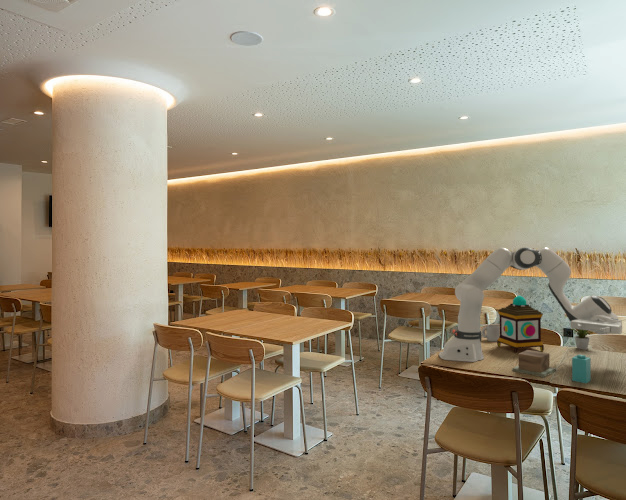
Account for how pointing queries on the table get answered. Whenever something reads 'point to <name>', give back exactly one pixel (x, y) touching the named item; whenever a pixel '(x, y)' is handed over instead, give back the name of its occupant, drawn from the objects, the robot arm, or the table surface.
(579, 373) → the teal brick
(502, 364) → the table surface
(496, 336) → the cup
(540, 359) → the tower base
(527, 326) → the decorative lantern
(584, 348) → the house plant
